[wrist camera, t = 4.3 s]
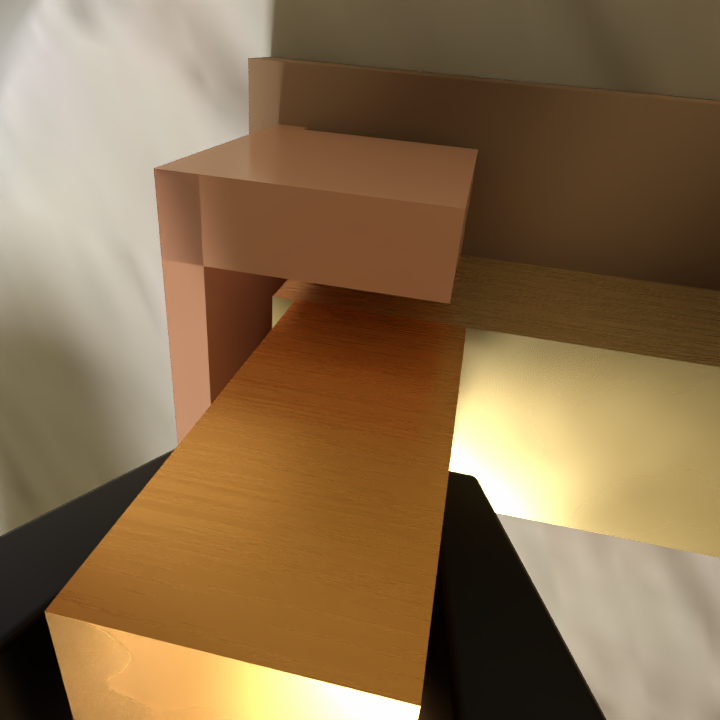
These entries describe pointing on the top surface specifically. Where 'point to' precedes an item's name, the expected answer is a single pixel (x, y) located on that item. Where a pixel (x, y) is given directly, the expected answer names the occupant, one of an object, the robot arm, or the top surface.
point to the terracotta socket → (296, 237)
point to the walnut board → (536, 161)
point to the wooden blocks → (388, 486)
